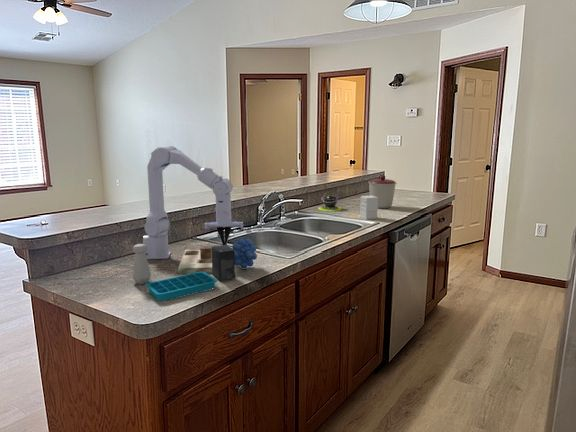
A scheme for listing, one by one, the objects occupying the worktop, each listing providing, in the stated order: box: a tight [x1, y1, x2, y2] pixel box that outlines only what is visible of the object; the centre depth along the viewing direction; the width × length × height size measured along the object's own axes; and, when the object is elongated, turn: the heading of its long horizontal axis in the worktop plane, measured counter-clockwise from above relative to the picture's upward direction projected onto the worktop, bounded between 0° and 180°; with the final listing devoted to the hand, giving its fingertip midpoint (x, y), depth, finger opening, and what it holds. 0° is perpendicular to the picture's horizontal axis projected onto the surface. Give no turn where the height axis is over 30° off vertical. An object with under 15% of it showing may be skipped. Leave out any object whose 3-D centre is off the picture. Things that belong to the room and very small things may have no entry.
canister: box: [367, 174, 398, 209], centre depth 275 cm, size 18×18×21 cm
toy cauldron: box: [318, 190, 342, 212], centre depth 270 cm, size 15×15×11 cm
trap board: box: [177, 249, 212, 275], centre depth 162 cm, size 12×23×2 cm, turn 7°
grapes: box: [231, 237, 258, 270], centre depth 154 cm, size 12×7×12 cm, turn 134°
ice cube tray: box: [145, 272, 218, 302], centre depth 135 cm, size 12×20×3 cm, turn 127°
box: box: [211, 244, 236, 282], centre depth 146 cm, size 8×6×11 cm
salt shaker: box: [131, 243, 151, 285], centre depth 140 cm, size 6×6×13 cm
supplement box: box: [359, 195, 379, 221], centre depth 242 cm, size 7×7×13 cm
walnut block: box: [199, 245, 212, 259], centre depth 162 cm, size 4×4×4 cm
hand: (224, 246), depth 163 cm, fingers closed
